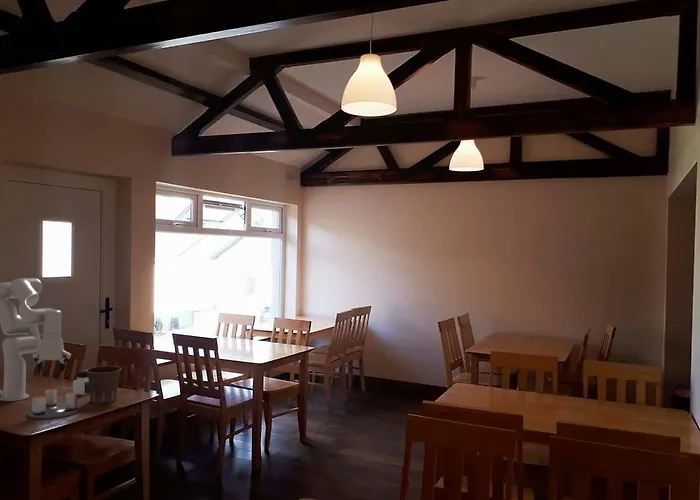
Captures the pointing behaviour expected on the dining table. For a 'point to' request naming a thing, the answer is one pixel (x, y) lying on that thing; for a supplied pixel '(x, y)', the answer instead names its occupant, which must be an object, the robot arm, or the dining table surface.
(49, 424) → the dining table surface
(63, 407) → the grey round tray
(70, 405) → the white short cylinder
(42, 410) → the knob
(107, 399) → the plant pot
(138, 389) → the dining table surface
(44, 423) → the dining table surface
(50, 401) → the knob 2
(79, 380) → the medicine bottle
